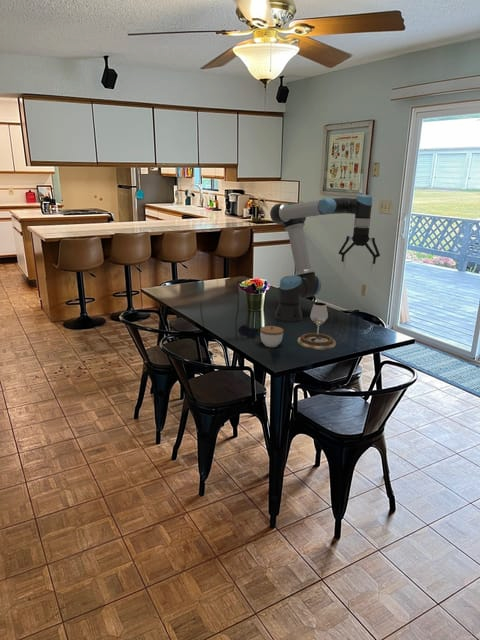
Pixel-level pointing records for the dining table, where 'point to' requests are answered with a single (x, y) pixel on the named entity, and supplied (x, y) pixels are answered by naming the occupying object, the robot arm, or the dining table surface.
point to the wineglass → (318, 317)
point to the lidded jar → (271, 335)
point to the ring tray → (306, 342)
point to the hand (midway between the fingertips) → (357, 269)
